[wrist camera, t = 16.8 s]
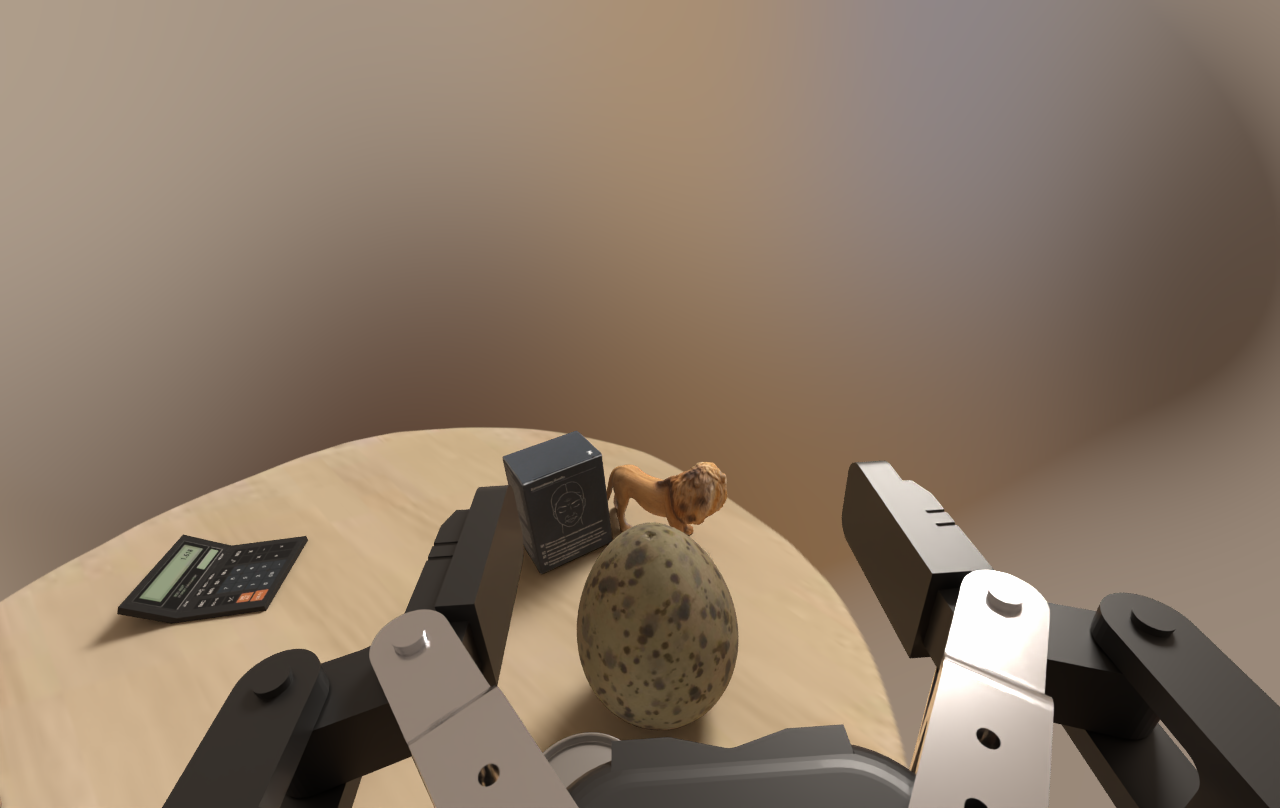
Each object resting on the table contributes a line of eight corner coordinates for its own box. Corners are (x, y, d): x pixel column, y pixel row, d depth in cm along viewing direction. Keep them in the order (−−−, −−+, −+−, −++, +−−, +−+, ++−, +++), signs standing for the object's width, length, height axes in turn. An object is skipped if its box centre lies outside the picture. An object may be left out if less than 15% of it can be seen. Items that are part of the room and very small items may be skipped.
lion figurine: (733, 529, 56) (735, 454, 51) (718, 565, 51) (719, 486, 47) (603, 499, 61) (595, 430, 57) (580, 530, 57) (569, 457, 53)
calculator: (267, 612, 50) (254, 588, 48) (130, 631, 49) (112, 607, 47) (308, 542, 58) (298, 520, 57) (191, 557, 57) (178, 535, 56)
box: (588, 513, 59) (577, 428, 54) (613, 543, 55) (604, 454, 50) (519, 542, 56) (500, 454, 51) (539, 576, 51) (521, 484, 46)
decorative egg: (597, 631, 46) (576, 483, 38) (729, 631, 45) (732, 480, 38) (577, 768, 36) (545, 605, 29) (744, 772, 35) (752, 605, 28)
